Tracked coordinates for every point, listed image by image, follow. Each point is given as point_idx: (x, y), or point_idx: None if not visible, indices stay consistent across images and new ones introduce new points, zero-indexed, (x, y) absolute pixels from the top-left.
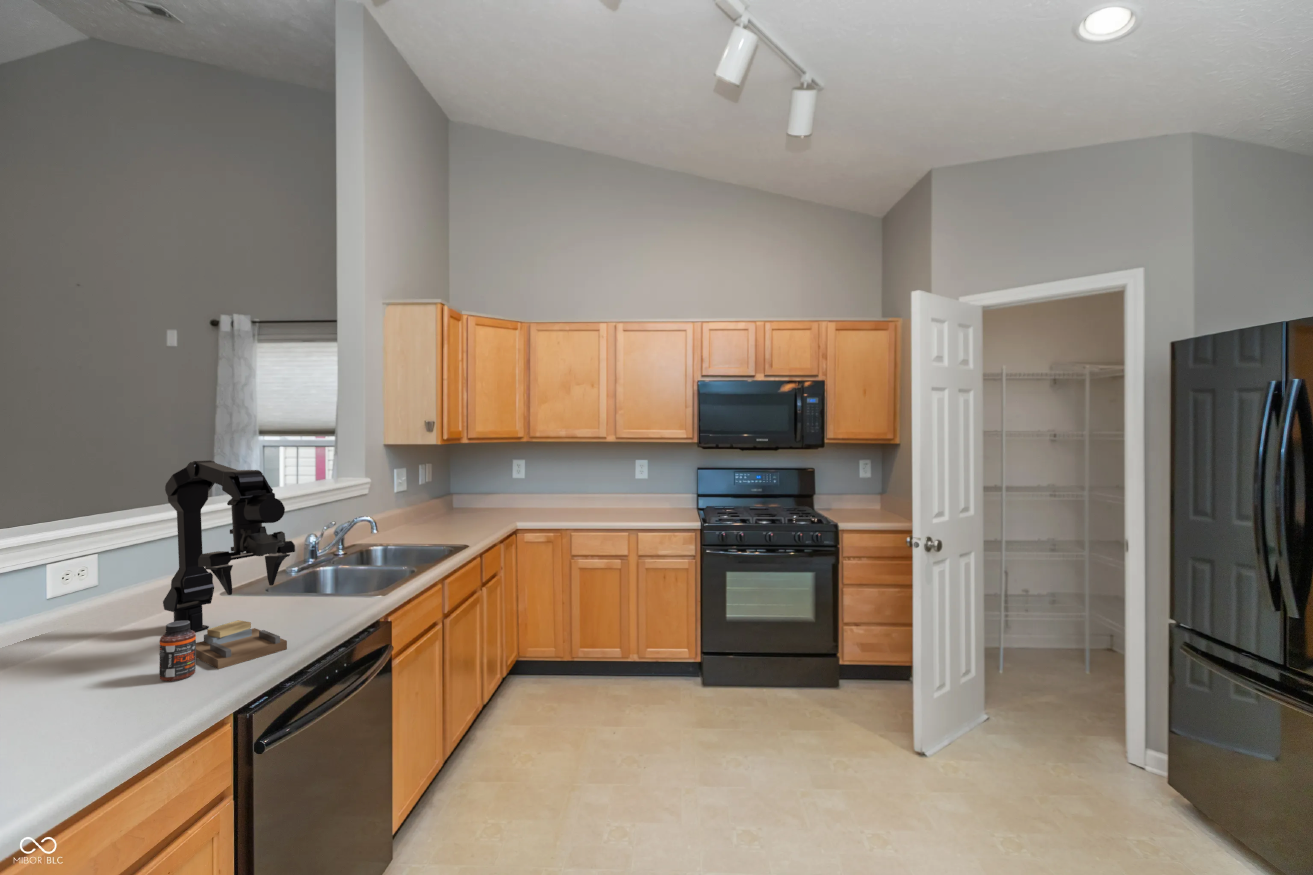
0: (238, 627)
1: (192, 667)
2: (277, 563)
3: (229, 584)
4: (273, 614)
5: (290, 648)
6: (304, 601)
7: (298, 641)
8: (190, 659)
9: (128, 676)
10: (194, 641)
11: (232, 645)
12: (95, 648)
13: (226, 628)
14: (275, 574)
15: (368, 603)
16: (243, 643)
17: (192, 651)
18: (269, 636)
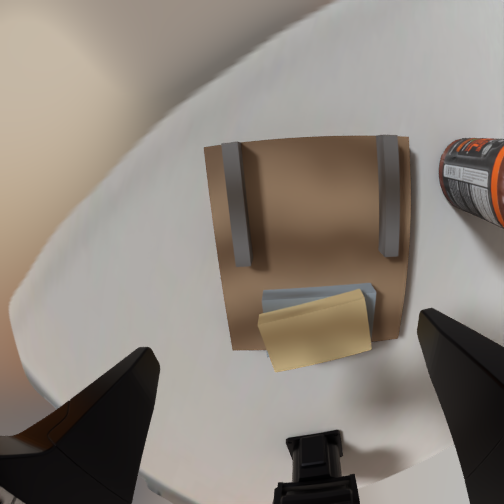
0: (301, 312)
1: (458, 144)
2: (39, 442)
3: (477, 341)
4: (166, 425)
5: (201, 146)
6: None
7: (164, 194)
8: (476, 140)
9: (497, 266)
10: (495, 153)
11: (337, 240)
12: (429, 438)
13: (336, 318)
14: (95, 386)
15: (20, 336)
16: (308, 233)
17: (484, 144)
18: (242, 187)
